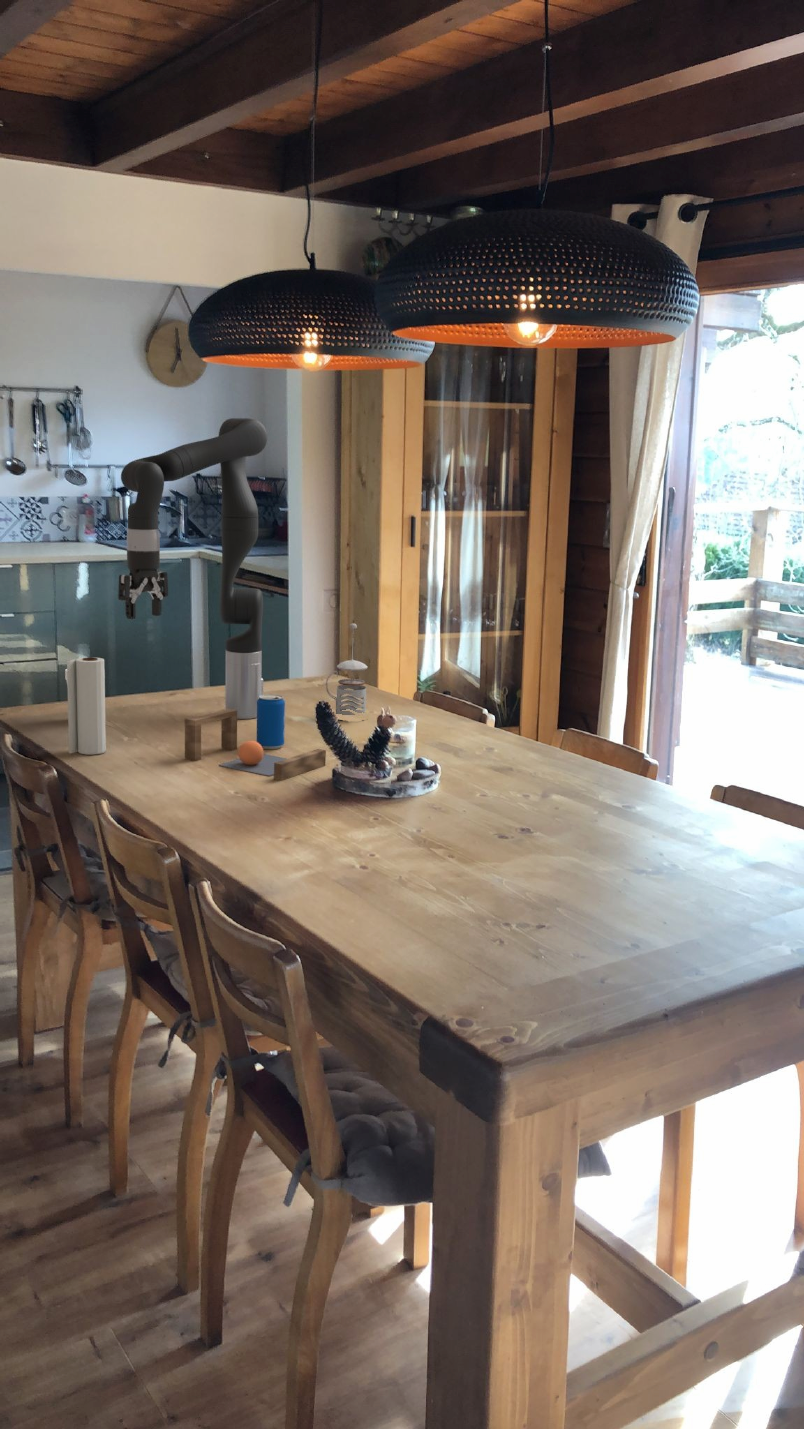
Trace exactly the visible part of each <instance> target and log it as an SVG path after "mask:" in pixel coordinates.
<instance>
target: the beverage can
mask: <svg viewBox="0 0 804 1429" xmlns="http://www.w3.org/2000/svg"><path fill="white" fill-rule="evenodd" d="M285 712H286V700H285V699H284V696H283V695H281V694H274V693H268V694H267V693H266V694H265V693H264V694H263V695H260V696H259V699H258V701H257V718H256V742H258V743H259V744H260V745H261V746H262V748H263V750H278V749H281V748H282V747H283V746H284V745H285V732H286V731H285V727H286V725H285V721H286V719H285V716H286V713H285Z"/></svg>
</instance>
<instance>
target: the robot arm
mask: <svg viewBox="0 0 804 1429" xmlns="http://www.w3.org/2000/svg"><path fill="white" fill-rule="evenodd" d="M267 443H268V432H267V429H266V428H265V425H264V424H263V423H261V422H260V421H259V420H257V419H254V418H249V417H245V418H244V417H242V418H241V417H238V418H237V417H236V418H235V417H233V418H232V417H231V418H228V419H226V420H224V421H223V422H222V424H221V425H220V428H219V431H218V436H215V437H212V438H207V439H203V440H198V441H194V442H189V443H185V444H182V445H179V446H177V447H174V448H171V449H169V450H166V451H163V452H162V453H159V454H156V455H150V456H146V457H141V458H139V459H135V460H132V461H130V462H128V463H126V465H125V466H124V467H123V468H122V470H121V473H120V474H121V475H120V480H121V483H122V485H123V487H124V488H125V489H127V490H128V491H131V492H134V493H136V498H135V499H136V500H135V501H134V503H131V504H130V505H128V508H127V533H126V534H127V535H126V566H127V569H129V573H128V574H119V575H118V590H117V593H118V595H117V597H118V600H119V601H123V602H124V604H125V616H126V618H127V619H128V620H135V619H136V618H137V617H136V603H135V602H136V600H137V599H138V597H139V596H141V594H142V593H145V592H147V593H149V595H150V596H151V598H152V599H151V615H152V616H155V617H160V616H161V615H162V600H163V599H164V598H165V597H166V598H167V597H168V596H169V583H168V580H169V579H168V572H167V571H159V569H160V567H161V566H160V564H161V563H160V562H161V561H160V560H161V559H160V557H161V556H160V553H161V552H160V542H161V541H160V534H159V509H160V506H161V502H162V497H163V493H164V486H165V482H173V481H177V480H180V479H183V478H185V477H187V476H191V475H193V474H195V473H197V472H199V471H200V472H201V471H202V470H205V469H208V468H210V467H212V466H215V465H219V464H220V475H221V526H220V527H221V555H222V557H221V577H220V578H221V580H220V581H221V582H220V594H219V596H220V597H219V598H220V599H219V612H220V619H221V621H222V623H223V624H227V625H229V624H230V625H249V628H248V629H247V630H245V631H244V632H241V633H239V634H237V635H234V636H231V637H229V638H226V640H225V693H224V694H225V695H224V696H225V702H224V703H225V704H224V705H225V707H224V709H227V708H228V709H234V710H237V720H238V719H239V720H240V719H242V720H248V719H249V720H250V719H257V701H258V699H259V696H260V695H264V679H263V677H262V663H263V662H262V660H263V659H262V655H263V654H262V652H263V651H262V650H263V648H262V639H263V638H262V630H263V628H262V627H263V615H264V614H263V613H264V596H263V592H262V591H261V589H259V588H250V587H249V588H248V587H234V582H235V578H236V575H237V574H238V571H239V569H240V567H241V566H242V564H243V562H244V561H245V559H246V557H247V556H248V555H249V553H250V552H251V550H252V549H253V547H254V545H255V544H256V542H257V539H258V537H259V510H258V505H257V502H256V498H255V497H254V494H253V491H252V490H251V487H250V485H249V482H248V477H247V471H246V468H247V467H246V464H247V463H246V462H247V460H246V458H247V457H254V456H257V455H259V454H260V453H262V452H263V450H264V449H265V448H266V445H267Z"/></svg>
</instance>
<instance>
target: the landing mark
mask: <svg viewBox="0 0 804 1429" xmlns="http://www.w3.org/2000/svg"><path fill="white" fill-rule="evenodd" d="M285 759H288V758H287V757H281V756H278V755H277V756H276V755H271V754H267V753H264V754H263V758H262V760H261V761H260V762H259V763H258V764H256V765H246V764H244V763H243V762H242V761H241V760H240V758H236V759H233V760H229V761H226V762H224V763H221V764H218V766H219V767H224V768H226V769H231V770H236V771H237V770H238V771H242V772H247V773H251V774H256V775H261V776H266V777H272V776H274V763H275V762H279V761H282V760H285Z"/></svg>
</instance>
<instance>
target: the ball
mask: <svg viewBox="0 0 804 1429" xmlns="http://www.w3.org/2000/svg"><path fill="white" fill-rule="evenodd" d="M264 752H265V751H264V749H263V748H262V746H261V745H260V744H259V743H258V742H257V740H247V741H245V742H243V743H242V744H241V745H240V746H239V748H238V752H237V753H238V757H239V758H240V760H241V761H242V762H243V763H244V764H246V765H256V764H258V763H259V762H260V761H261V760H262V758H263V754H265V753H264ZM239 758H238V759H239Z"/></svg>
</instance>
